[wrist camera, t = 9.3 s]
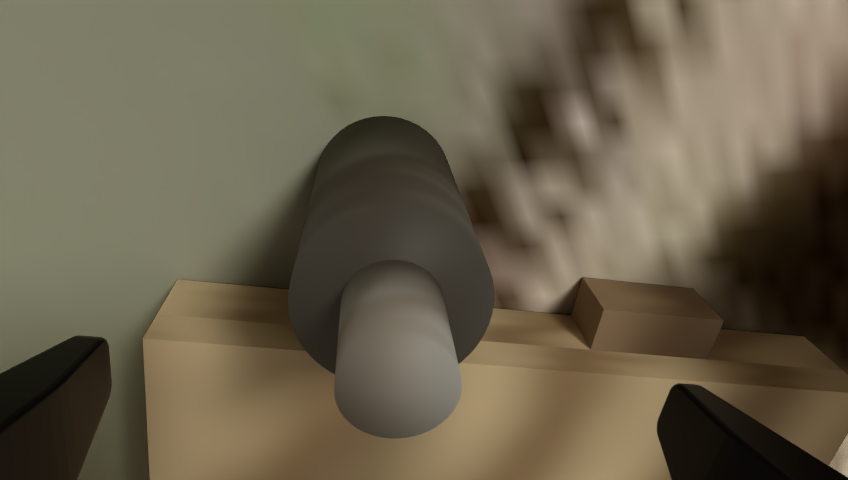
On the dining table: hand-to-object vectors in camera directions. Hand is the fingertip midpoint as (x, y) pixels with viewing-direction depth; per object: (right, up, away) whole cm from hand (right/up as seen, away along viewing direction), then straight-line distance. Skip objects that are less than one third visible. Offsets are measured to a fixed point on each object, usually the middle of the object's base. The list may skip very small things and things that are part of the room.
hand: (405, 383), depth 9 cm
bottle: (-1, +4, +8) cm, 9 cm away
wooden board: (+2, -7, +14) cm, 16 cm away
